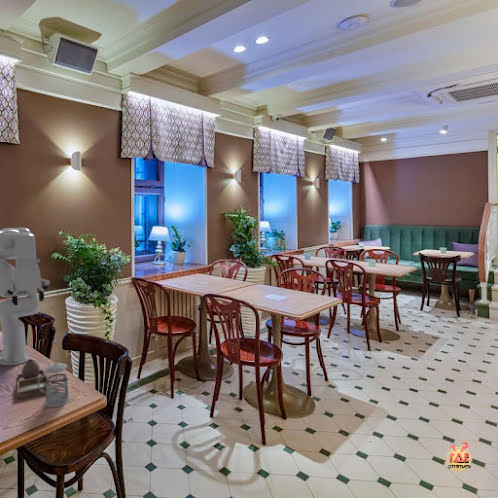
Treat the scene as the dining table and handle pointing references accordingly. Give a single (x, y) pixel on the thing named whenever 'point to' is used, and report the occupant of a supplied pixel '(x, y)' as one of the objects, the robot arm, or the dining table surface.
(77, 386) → the dining table surface
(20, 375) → the trivet frame
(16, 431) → the dining table surface
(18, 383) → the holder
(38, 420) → the dining table surface
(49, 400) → the french press
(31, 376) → the vase
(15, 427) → the dining table surface
